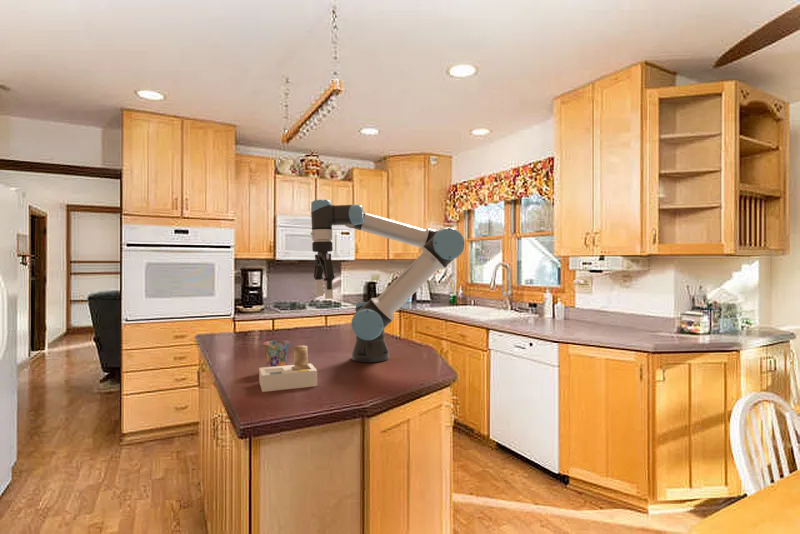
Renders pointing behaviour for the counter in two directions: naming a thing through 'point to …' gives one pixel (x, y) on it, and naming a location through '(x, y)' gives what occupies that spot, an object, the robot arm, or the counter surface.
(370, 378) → the counter surface
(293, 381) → the socket block
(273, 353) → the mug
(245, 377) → the counter surface
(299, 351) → the peg
